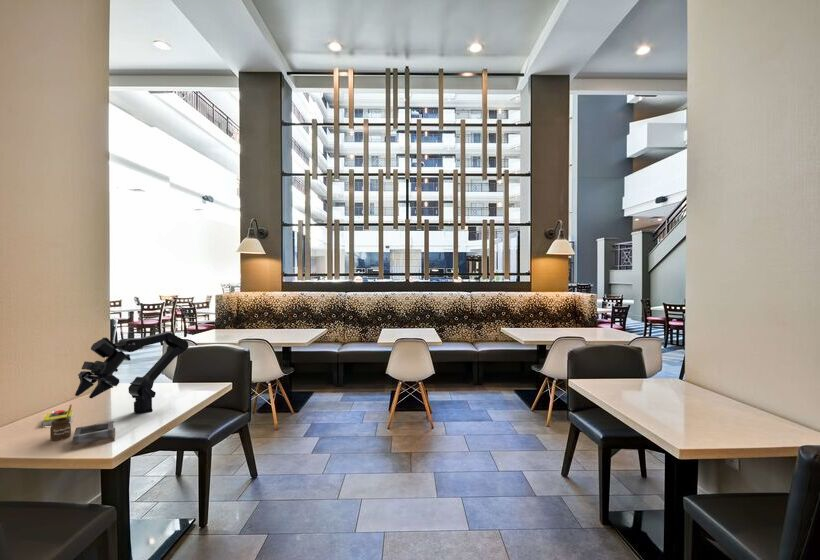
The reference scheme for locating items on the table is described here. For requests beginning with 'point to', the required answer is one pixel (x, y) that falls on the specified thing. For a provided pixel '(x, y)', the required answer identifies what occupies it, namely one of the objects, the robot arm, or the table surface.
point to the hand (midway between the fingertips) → (82, 396)
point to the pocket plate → (93, 435)
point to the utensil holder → (60, 428)
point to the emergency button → (58, 414)
